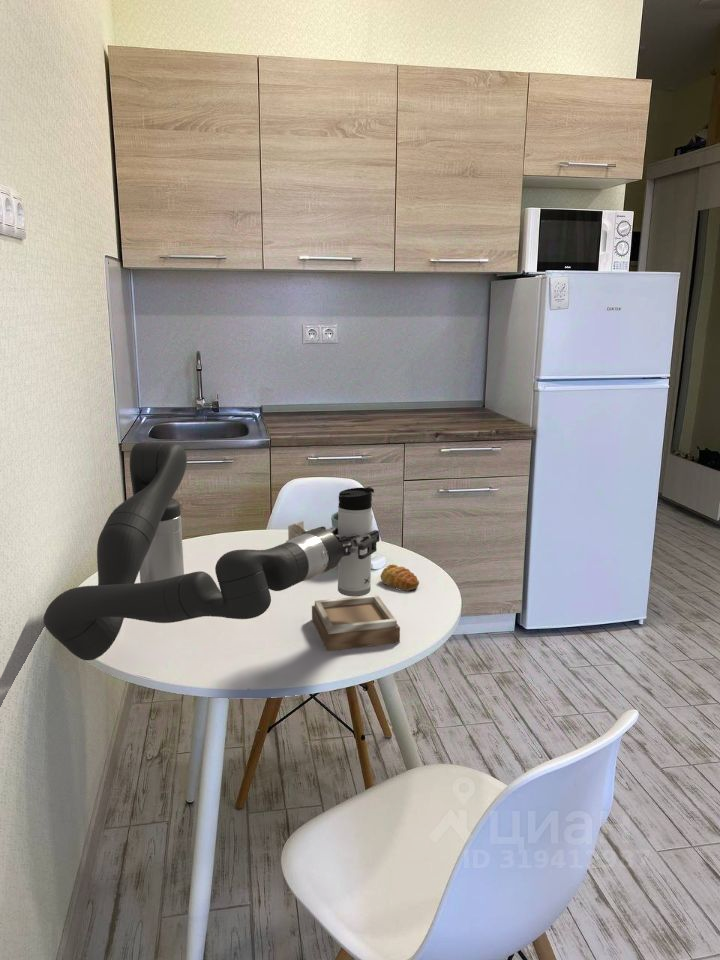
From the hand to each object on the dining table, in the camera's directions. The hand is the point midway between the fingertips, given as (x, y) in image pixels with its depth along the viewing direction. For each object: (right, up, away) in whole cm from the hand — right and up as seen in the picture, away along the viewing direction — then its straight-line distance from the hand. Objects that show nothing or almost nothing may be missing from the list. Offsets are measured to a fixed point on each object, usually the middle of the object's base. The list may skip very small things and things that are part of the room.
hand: (362, 532), depth 135 cm
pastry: (+9, -14, +27) cm, 32 cm away
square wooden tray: (-2, -19, +3) cm, 20 cm away
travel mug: (-1, -11, 0) cm, 11 cm away
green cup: (-2, -11, +41) cm, 42 cm away
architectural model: (-16, -9, +50) cm, 54 cm away
